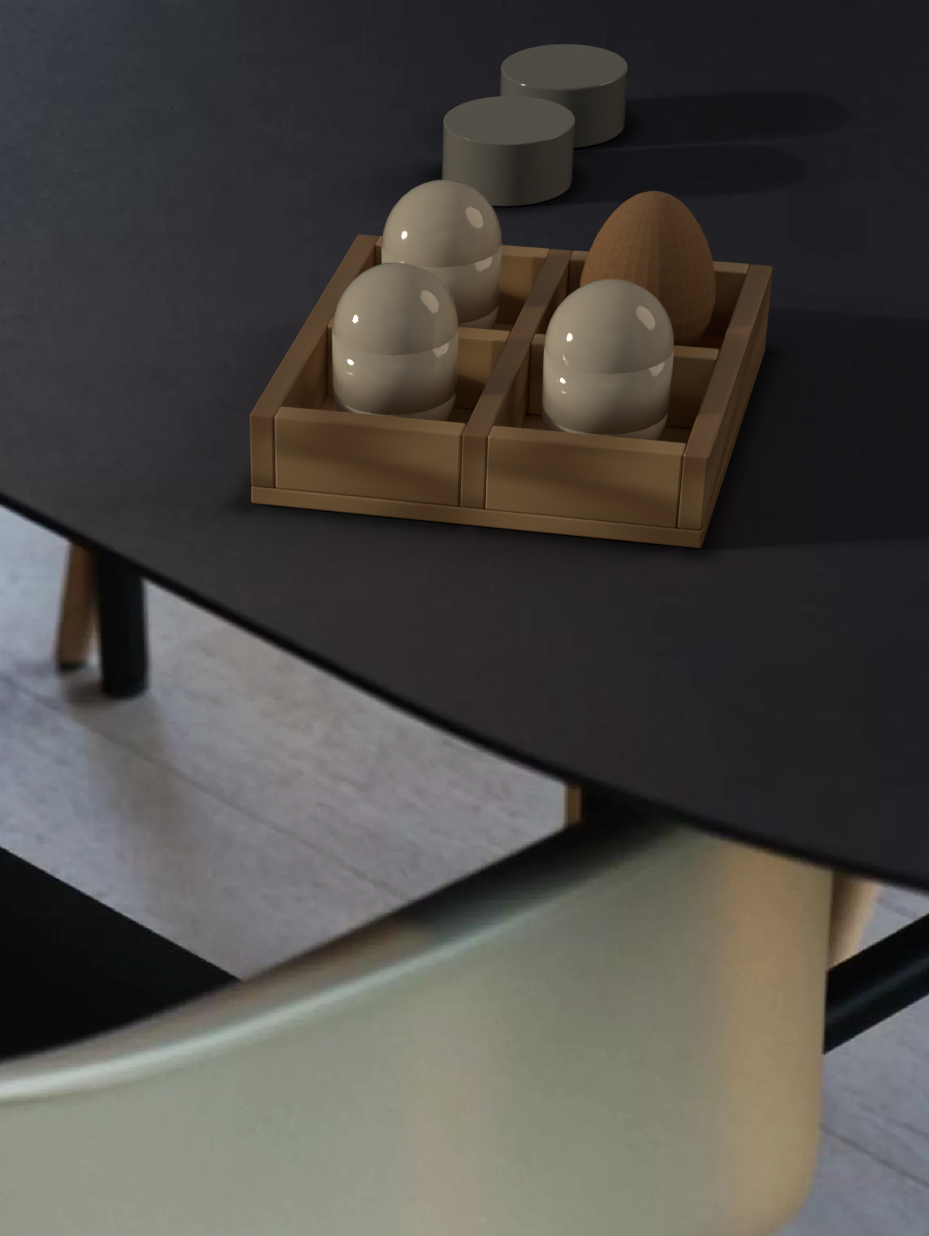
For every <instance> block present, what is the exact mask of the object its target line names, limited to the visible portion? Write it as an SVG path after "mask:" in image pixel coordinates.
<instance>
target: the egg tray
mask: <svg viewBox="0 0 929 1236" xmlns="http://www.w3.org/2000/svg"><path fill="white" fill-rule="evenodd" d="M382 236H383V235H380V236H378V235H372V234H358V235H356V237H355V238H354V241H353V242H352V244H351V245H350V247H349V249H348V251H347V252H346V254H345V256H344V257H343V259H342V261H341V262H340V264H339V266H338V267H337V269H336V270H335V272H334V274H333V276H332V277H331V279H330V280H329V282H328V284H327V285H326V287H325V289H324V290H323V292H322V294H321V295H320V297H319V299H318V300H317V302H316V304H315V305H314V307H313V309H312V310H311V312H310V314H309V315H308V317H307V318H306V320H305V322H304V324H303V325H302V327H301V329H300V331H299V332H298V334H297V335H296V337H295V338H294V340H293V341H292V343H291V345H290V347H289V349H288V350H287V352H286V354H285V355H284V357H283V358H282V360H281V362H280V363H279V366H278V367H277V369H276V370H275V372H274V374H273V376H272V377H271V379H270V380H269V382H268V383H267V385H266V387H265V388H264V390H263V392H262V394H260V397H259V398H258V400H257V401H256V403H255V405H254V407H253V408H252V410H251V411H250V414H249V439H250V440H249V441H250V442H249V444H250V445H249V446H250V478H251V479H250V482H251V488H250V489H251V490H250V493H251V495H250V496H251V497H250V498H251V503H252V504H257V505H266V506H275V507H276V506H277V507H285V508H286V507H287V508H296V509H306V510H317V511H326V512H335V513H336V512H337V513H346V514H354V515H355V514H357V515H365V516H377V517H386V518H396V519H404V520H405V519H406V520H416V521H425V522H426V521H427V522H436V523H444V524H445V523H446V524H456V525H463V526H464V525H465V526H473V527H475V526H476V527H485V528H493V529H495V528H496V529H505V530H514V531H515V530H516V531H525V532H535V533H545V534H556V535H565V536H575V537H583V538H584V537H585V538H593V539H594V538H595V539H604V540H614V541H624V542H634V543H645V544H652V545H653V544H654V545H663V546H672V547H673V546H674V547H684V548H693V549H701V548H702V546H703V544H704V540H705V537H706V534H707V531H708V528H709V525H710V521H711V519H712V516H713V512H714V509H715V506H716V503H717V500H718V497H719V494H720V491H721V487H722V485H723V483H724V479H725V476H726V472H727V469H728V466H729V463H730V460H731V457H732V454H733V451H734V447H735V444H736V441H737V438H738V435H739V432H740V429H741V426H742V422H743V420H744V417H745V414H746V410H747V407H748V404H749V401H750V398H751V394H752V391H753V389H754V385H755V383H756V380H757V376H758V374H759V370H760V367H761V364H762V361H763V359H764V358H763V357H764V354H765V352H766V342H767V332H768V323H769V312H770V303H771V291H772V282H773V273H774V267H773V266H771V265H765V264H749V263H744V262H743V263H742V262H728V261H718V260H717V261H716V260H712V261H713V267H714V273H715V280H716V289H715V303H714V307H713V311H712V315H711V319H710V322H709V325H708V326H707V328H706V330H705V332H704V334H703V336H702V337H701V339H700V340H699V341H698V343H697V344H696V345H695V346H694V347H687V346H675V345H674V357H673V369H672V382H671V395H670V408H669V413H668V418H667V423H666V426H665V428H664V430H663V433H662V435H661V437H660V438H659V440H658V441H656V440H645V439H634V438H623V437H612V436H601V435H590V434H579V433H569V432H558V431H547V430H545V427H544V424H543V420H542V409H541V403H542V382H543V361H544V344H545V338H546V332H547V328H548V325H549V323H550V320H551V317H552V316H553V314H554V313H555V311H556V309H557V308H558V306H559V305H560V304H561V302H562V301H563V300H564V299H565V298H566V297H567V296H568V295H570V294H571V293H572V292H573V291H575V290H577V289H578V288H580V280H581V275H582V272H583V268H584V265H585V262H586V258H587V256H588V253H589V251H583V250H568V249H556V248H555V249H554V248H551V249H550V248H545V247H533V246H518V245H505V244H502V258H501V285H500V304H499V311H498V315H497V318H496V321H495V324H494V326H493V328H492V330H489V329H477V328H465V327H459V336H458V372H457V392H456V399H455V403H454V406H453V409H452V412H451V415H450V416H449V418H448V419H447V421H435V420H424V419H413V418H402V417H391V416H381V415H370V414H359V413H348V412H337V411H336V408H335V405H334V398H333V390H332V326H333V316H334V313H335V310H336V307H337V304H338V301H339V299H340V297H341V295H342V293H343V292H344V290H345V289H346V288H347V286H348V285H349V284H350V283H351V282H352V281H353V280H354V279H355V278H356V277H357V276H359V275H360V274H361V273H363V272H364V271H366V270H367V269H369V268H371V267H374V266H377V265H380V264H382Z"/></svg>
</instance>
